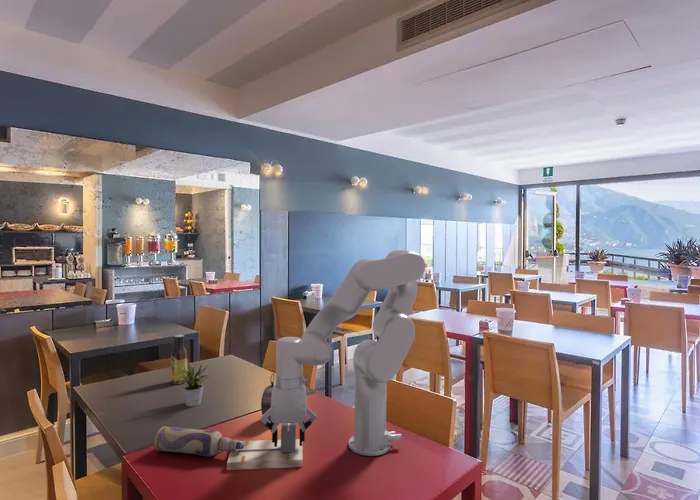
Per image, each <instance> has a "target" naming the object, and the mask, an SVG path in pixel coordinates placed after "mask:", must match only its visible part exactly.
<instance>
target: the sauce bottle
mask: <svg viewBox="0 0 700 500" xmlns="http://www.w3.org/2000/svg"><path fill="white" fill-rule="evenodd" d="M173 340H174V343H173V348H172V351H171V353H170V380H171V384H173V385H178V384H179V382H180V381H182V380H185V379H182V377H181V376H182V375H183V374H184V375H186V374H187V373H186V374H185V373H184V372H183V371H182V370H184V368H183V366H182V365H181V364H183V365H184V367H185V369H186V370H187V371H188V363H187V361H188V350H187V348H186V347H185V335H184V334H175V335H174V336H173ZM178 362H179V363H178ZM180 363H181V364H180ZM179 368H180V369H179ZM181 369H182V370H181ZM180 371H181V372H182V373H183V374H182V373H181V372H180ZM184 371H185V370H184ZM185 372H186V371H185ZM186 376H187V375H186ZM175 379H178V380H175ZM184 383H187V381H186V380H185V381H184ZM184 383H183V382H182V383H180V384H181V385H182V384H184ZM180 384H179V385H180Z"/></svg>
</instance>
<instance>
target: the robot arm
mask: <svg viewBox="0 0 700 500" xmlns="http://www.w3.org/2000/svg"><path fill="white" fill-rule="evenodd" d="M425 271H426V261H425V259H424V258H423V256H422V255H421V254H419V253H418V252H416V251H412V250H405V249H404V250H403V249H396V250H392V251H390V252H389V253H388V254H387V255H386V257H385V258H381V259H376V260H375V259H374V260H373V259H367V258H363V259H359V260H357V261H356V262H355V263H353V265H352V266H351V267H350V270H349V271H348V272H347V273H346V275H345V278H343V280H342V282H341V283H340V285H339V286H338V288H337V289H336V291H335V292H334V293H333V295H332V297H331V298H330V299H329V301H328V302H326V303H325V305H324V306H323V307H322V308H321V309H320V310H319V311H318V312H317V314H316V315H315V316H314V317H313V319H312V320H311V321H310V323H309V324H308V326H307V327H306V329H305V330H304V332H303V334H302V336H301V337H297V336H284V337H280V338H278V340H277V341H276V343H275V344H276V345H275V347H276V351H275V384H274V386H273V390H272V397H271V408H270V409H269V410H268V411H267V412H266V413H264V414H263V415H261V416H260V421H261V422H262V424H263V425H265V427H267V428H268V429H269V430H270V432H271V440H272V443H274V447H276V446H277V441H278V440H279V439H278V438H279V437H278V435H279V434H278V426H279V424H282V423H296V424H298V426H299V439H300V446H302V447H303V442H305V438H306V433H305V432H306V431H307V429H308V428H309V427H310V426H311V425H312V424H313V423H314V422H315V421H316V419H317V414H316V413H315V412H313V410H311V409H310V407H308V403H307V402H308V399H307V389H306V388H307V387H306V385H305V383H309V381H308V380H309V379H308V376H304V374H303V373H304V372H303V371H304V369H303V368H304V367H303V366H304V365H307V366H322V365H326V364H327V363H328V362H329V361H330V360H331V358H332V355H333V349H332V346H331V345H330V343H329V342H328V340H329V338H330V337H331V335H332V334H333V332H334V331H335V330H336V328H338V326H339V325H340V324H342V323H344V322H346V321H348V320H350V319H352V318H353V317H355V316H356V315H357V313H358V312H359V311H360V309H361V307H362V306H363V304H364V303H365V301H366V300H367V297H368V296H369V295H370V293H371V292H379V291H384V290H387V289H388V292H387V294H386V296H385V298H384V299H383V302H382V304H381V306H380V307H379V310H378V312H377V314H376V315H375V317H374V319H373V322H372V330H373V332H374V334H375V335H376V336H377V337H378V340H373V339H364V340H363V341H361V342H359V344H357V345H356V347H355V349H354V352H353V356H352V357H353V358H352V361H353V364H352V365H353V372H354V403H353V404H354V406H353V407H354V410H353V411H354V414H353V420H354V421H353V435H352V436H350V438H349V440H348V443H347V445H348V448H349V449H350V450H351V451H352V452H354V453H356V454H357V455H361V456H366V457H374V456H381V455H384V454H386V453H388V452H389V451H390V449H391V446H392V445H391V444H392V442H394V441H395V442H402V434H401V433H396V431H394V430H393V431H388V430H387V397H388V396H387V395H388V391H387V390H388V389H387V387H388V386H387V383H389V382H390V381H392V380H393V379H394V378H395V377H396V375H397V374H398V372H399V370H400V369H401V367H402V365H403V363H404V361H405V359H406V357H407V356H408V354H409V351H410V349H411V347H412V345H413V343H414V340H415V337H416V326H415V323H414V321H413V320H412V318H410V314H411V312H412V309H413V307H414V304H415V302H416V300H417V297H418V295H417V294H418V281H417V280H419V279H420V278H421V277H422V276H423V275H424V273H425ZM269 416H271V422H270V419H267V418H268V417H269ZM307 416H308V417H309V418H308V417H307ZM307 418H308V419H307Z"/></svg>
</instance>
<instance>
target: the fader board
mask: <svg viewBox="0 0 700 500" xmlns="http://www.w3.org/2000/svg"><path fill="white" fill-rule="evenodd" d="M238 441H239V442H242V443H243V444H244V448H243V449H237V450H236V451H233V450H230V453H229V455H228V459H227V462H226V470H227V471H237V470H239V471H240V470H241V471H242V470H259V469H261V470H262V469H281V468H303V467H304V466H303V463H304V461H303V459H304V458H303V457H304V456H303V455H304V454H303V452H304V451H303V445H302V446H300V438H296V445H295V452H283V453H281V439H278V441H277V446H276V447H274V443H272V439H266V440H263V439H262V440H259V439H258V440H238Z"/></svg>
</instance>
